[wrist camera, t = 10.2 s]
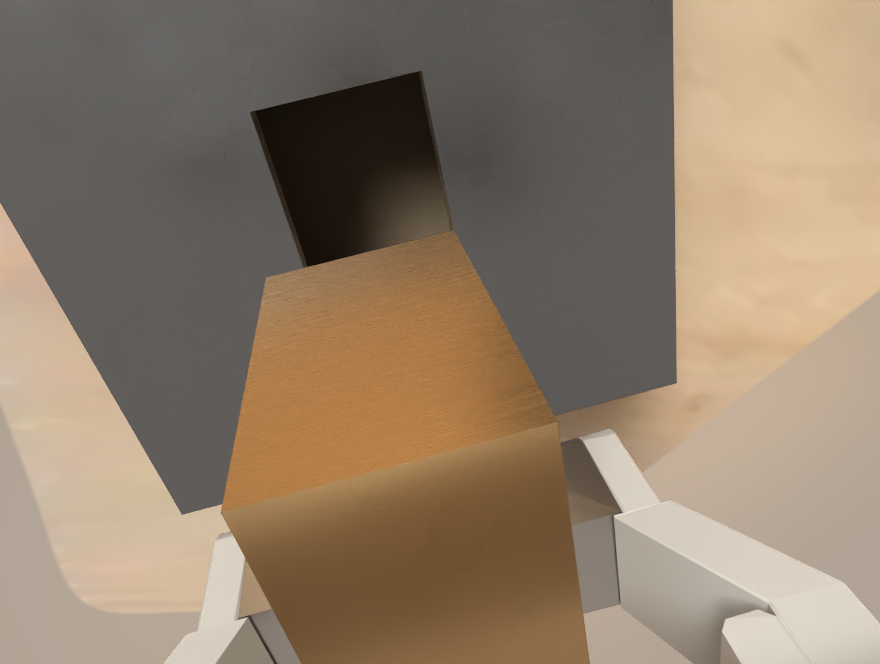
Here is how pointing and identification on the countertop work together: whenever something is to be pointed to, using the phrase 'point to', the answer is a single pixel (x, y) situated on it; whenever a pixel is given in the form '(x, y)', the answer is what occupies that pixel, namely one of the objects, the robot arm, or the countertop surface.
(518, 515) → the brown wooden block
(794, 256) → the countertop surface
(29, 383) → the countertop surface
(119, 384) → the post box
